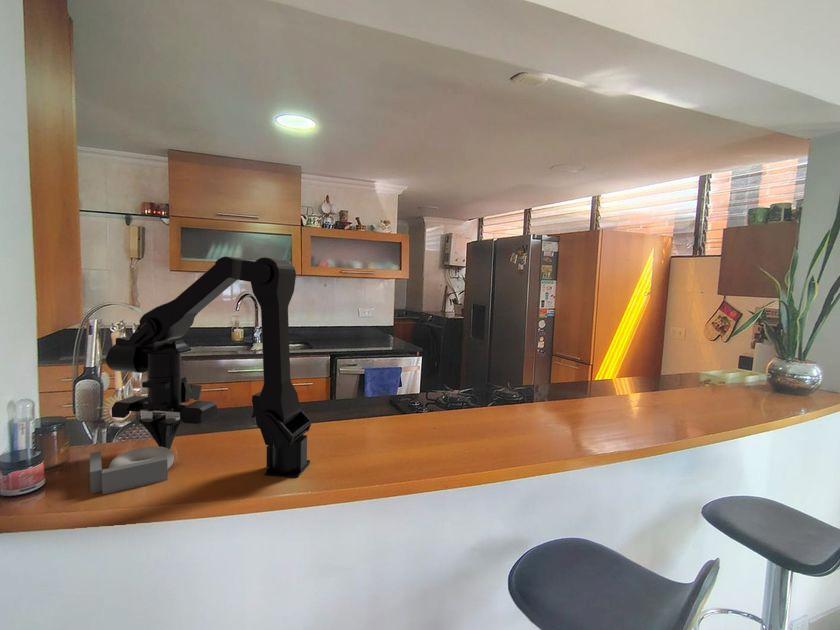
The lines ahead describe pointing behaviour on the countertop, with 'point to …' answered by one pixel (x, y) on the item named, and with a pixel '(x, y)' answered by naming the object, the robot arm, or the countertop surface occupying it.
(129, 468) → the grey l-shaped bracket
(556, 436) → the countertop surface
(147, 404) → the robot arm
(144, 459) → the donut
